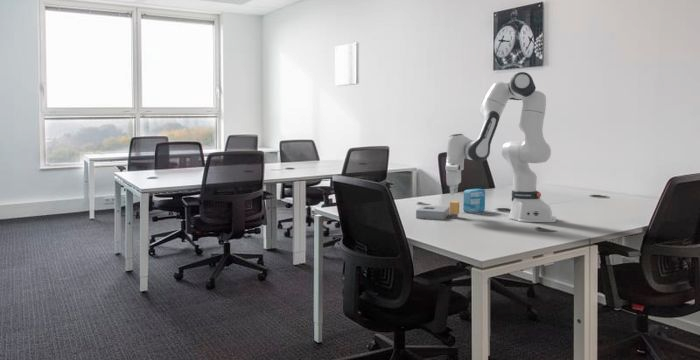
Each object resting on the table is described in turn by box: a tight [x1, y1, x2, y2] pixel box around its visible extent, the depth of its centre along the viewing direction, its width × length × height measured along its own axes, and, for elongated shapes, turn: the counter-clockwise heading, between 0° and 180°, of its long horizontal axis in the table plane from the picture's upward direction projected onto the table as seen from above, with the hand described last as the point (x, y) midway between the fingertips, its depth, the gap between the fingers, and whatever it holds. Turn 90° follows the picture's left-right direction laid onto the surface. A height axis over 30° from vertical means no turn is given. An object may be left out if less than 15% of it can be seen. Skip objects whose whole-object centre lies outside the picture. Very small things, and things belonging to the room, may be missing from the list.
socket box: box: [415, 205, 451, 221], centre depth 271 cm, size 14×16×4 cm
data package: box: [462, 188, 486, 214], centre depth 282 cm, size 12×4×12 cm, turn 124°
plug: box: [449, 200, 460, 219], centre depth 266 cm, size 4×4×8 cm
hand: (453, 193), depth 265 cm, fingers open, 8 cm apart
